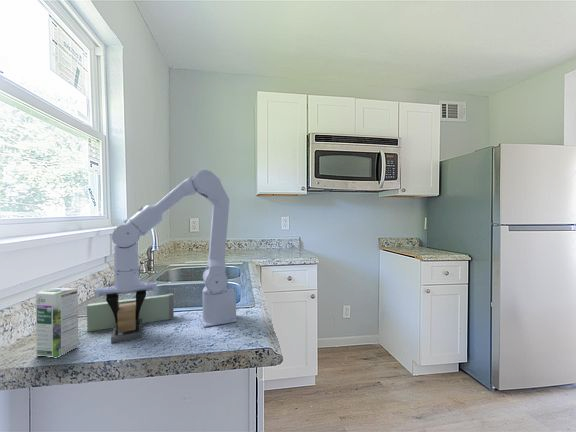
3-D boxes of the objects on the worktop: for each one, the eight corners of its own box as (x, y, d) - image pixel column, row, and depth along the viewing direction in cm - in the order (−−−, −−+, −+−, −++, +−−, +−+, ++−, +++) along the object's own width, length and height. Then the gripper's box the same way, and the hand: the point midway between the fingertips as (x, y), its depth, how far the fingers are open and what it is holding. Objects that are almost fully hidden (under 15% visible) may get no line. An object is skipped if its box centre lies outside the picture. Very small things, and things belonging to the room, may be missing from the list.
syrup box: (34, 357, 66) (33, 293, 66) (59, 345, 72) (58, 286, 72) (56, 359, 65) (55, 293, 65) (79, 347, 71) (78, 287, 71)
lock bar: (135, 329, 76) (135, 310, 76) (117, 332, 74) (117, 313, 74) (136, 319, 83) (136, 302, 83) (120, 322, 82) (119, 304, 82)
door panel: (173, 316, 92) (172, 293, 92) (173, 318, 89) (173, 294, 89) (88, 328, 82) (88, 303, 82) (87, 331, 80) (86, 305, 80)
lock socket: (141, 323, 85) (141, 318, 85) (141, 337, 76) (141, 332, 76) (115, 328, 82) (115, 322, 82) (111, 343, 73) (111, 337, 73)
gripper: (155, 265, 86) (156, 311, 86) (96, 269, 79) (97, 319, 79) (156, 269, 79) (157, 319, 79) (92, 274, 73) (93, 329, 73)
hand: (127, 320), depth 79 cm, fingers closed on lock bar, 4 cm apart
